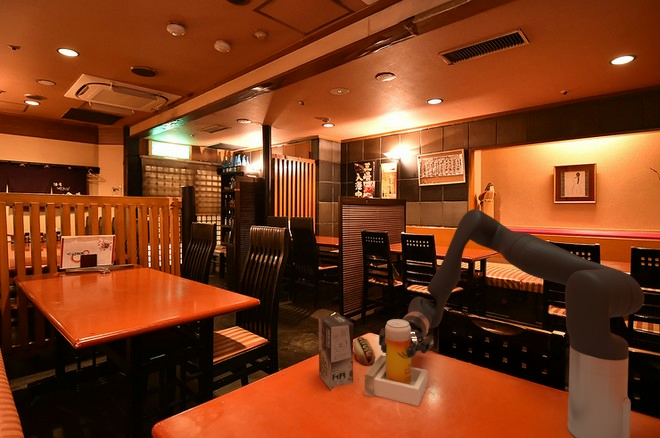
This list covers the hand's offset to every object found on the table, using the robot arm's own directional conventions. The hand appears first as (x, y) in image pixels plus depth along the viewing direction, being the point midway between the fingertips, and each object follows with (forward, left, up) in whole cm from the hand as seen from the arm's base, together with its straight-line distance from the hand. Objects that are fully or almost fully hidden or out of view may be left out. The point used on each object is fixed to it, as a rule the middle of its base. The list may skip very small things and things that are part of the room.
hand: (396, 351), depth 84 cm
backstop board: (-3, -3, -11) cm, 12 cm away
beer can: (0, -3, -9) cm, 10 cm away
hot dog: (+15, -17, -12) cm, 25 cm away
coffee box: (+17, -2, -12) cm, 20 cm away
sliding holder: (-1, -3, -10) cm, 11 cm away
